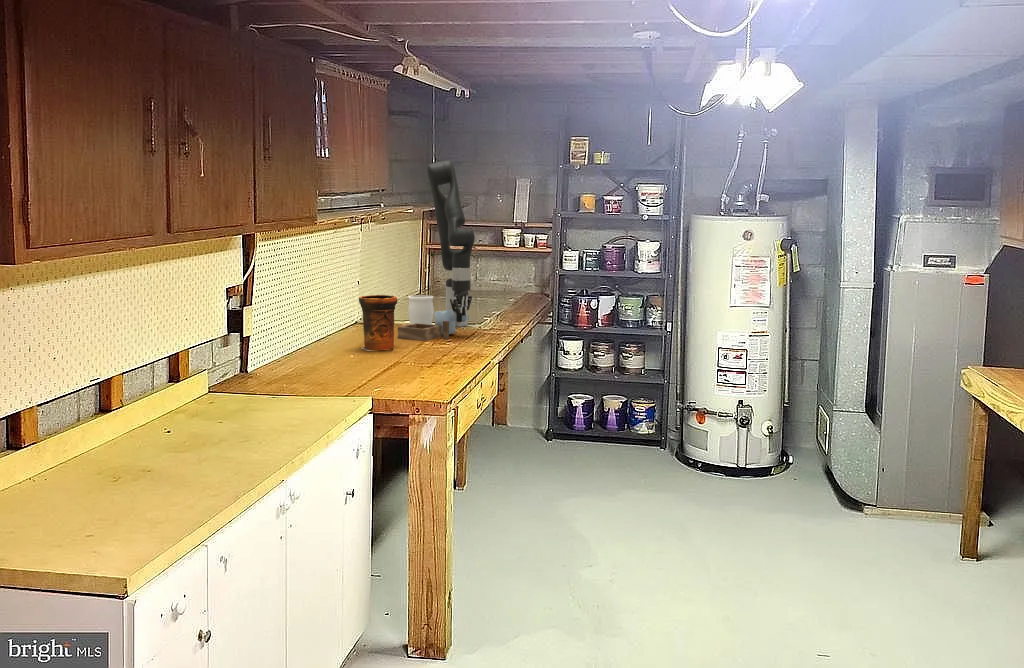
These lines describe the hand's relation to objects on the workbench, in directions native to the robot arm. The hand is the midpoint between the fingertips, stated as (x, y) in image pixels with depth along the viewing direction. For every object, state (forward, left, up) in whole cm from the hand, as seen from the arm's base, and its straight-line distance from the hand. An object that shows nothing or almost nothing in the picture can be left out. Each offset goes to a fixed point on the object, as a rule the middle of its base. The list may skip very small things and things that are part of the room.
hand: (461, 321), depth 398 cm
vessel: (+37, -14, -7) cm, 40 cm away
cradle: (+11, -10, -7) cm, 16 cm away
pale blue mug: (0, -4, -5) cm, 6 cm away
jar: (-6, -24, -7) cm, 25 cm away
